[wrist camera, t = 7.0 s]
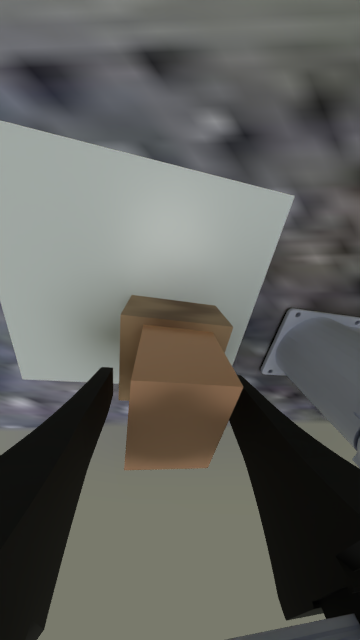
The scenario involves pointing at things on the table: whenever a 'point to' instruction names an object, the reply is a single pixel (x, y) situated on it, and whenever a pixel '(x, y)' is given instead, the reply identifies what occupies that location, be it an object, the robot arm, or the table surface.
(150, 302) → the walnut block
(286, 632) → the robot arm
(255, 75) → the table surface
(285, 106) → the table surface
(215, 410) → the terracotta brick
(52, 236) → the baseplate
